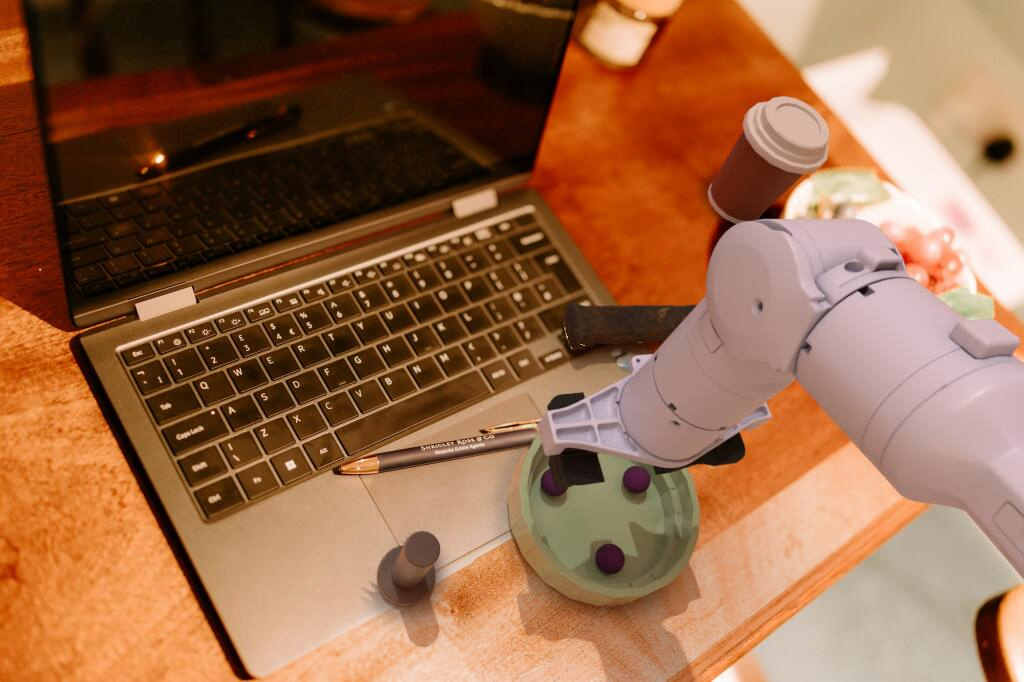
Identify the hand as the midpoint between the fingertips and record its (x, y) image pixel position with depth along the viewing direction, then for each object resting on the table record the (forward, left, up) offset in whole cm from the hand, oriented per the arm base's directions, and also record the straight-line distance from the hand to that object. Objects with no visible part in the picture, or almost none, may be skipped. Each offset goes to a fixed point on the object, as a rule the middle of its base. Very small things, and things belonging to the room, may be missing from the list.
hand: (607, 467), depth 49 cm
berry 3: (+1, -5, -6) cm, 8 cm away
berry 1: (+1, +2, -6) cm, 7 cm away
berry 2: (-5, -2, -6) cm, 8 cm away
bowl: (-1, -2, -8) cm, 8 cm away
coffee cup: (+33, -25, -8) cm, 42 cm away
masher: (-5, +13, -8) cm, 16 cm away
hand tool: (+16, -11, -8) cm, 21 cm away
